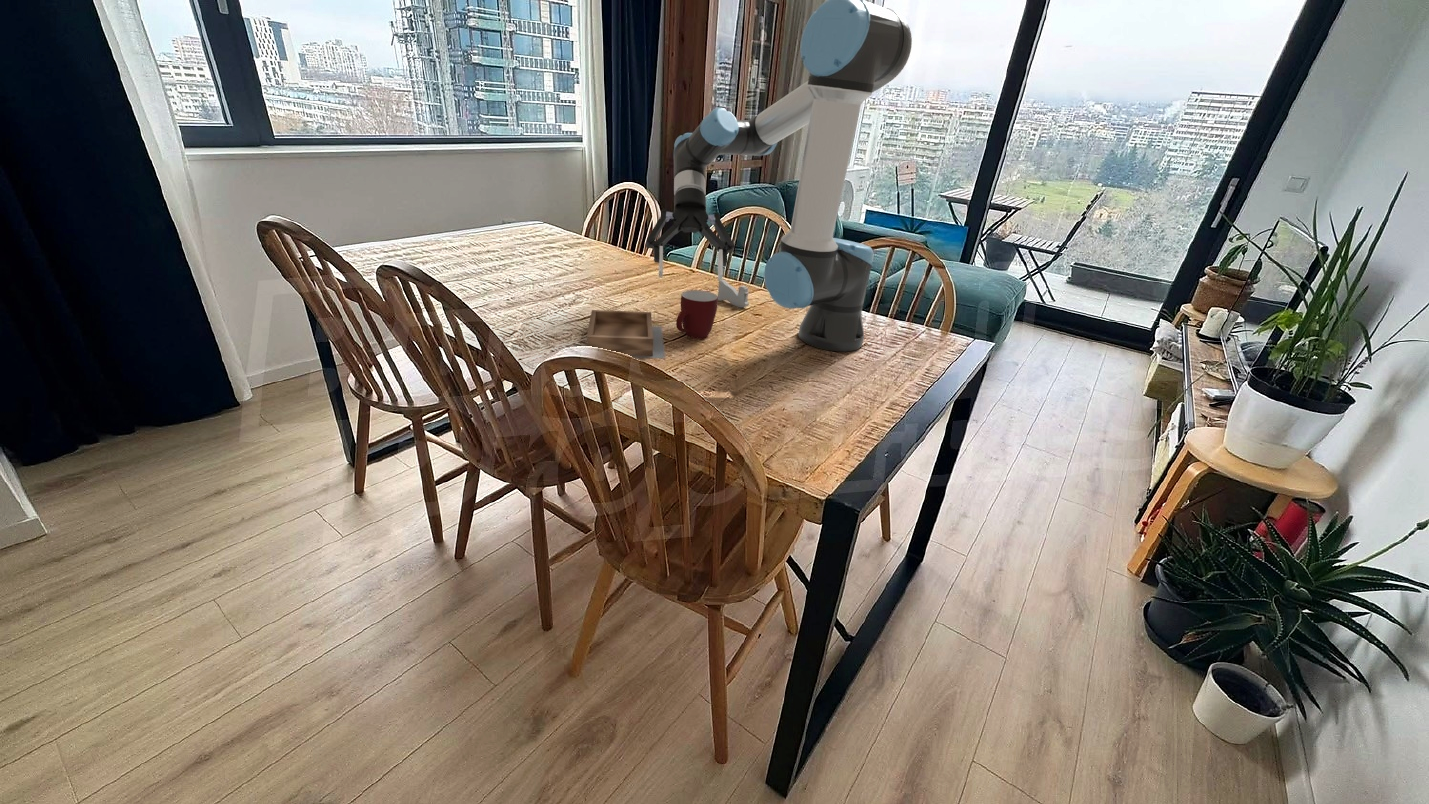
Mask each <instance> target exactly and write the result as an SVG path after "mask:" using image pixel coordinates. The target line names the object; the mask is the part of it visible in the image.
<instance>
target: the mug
mask: <svg viewBox="0 0 1429 804" xmlns="http://www.w3.org/2000/svg"><path fill="white" fill-rule="evenodd" d="M718 301H719V300H718V294H715V293H714V292H711V291H707V290H698V289H694V290H686V291H683V292H682V293H681V295H680V312H679V313H678V314H677V317H676V321H675V322H676V323H675V325H676V329H677V330H678V331H679V332H681V333H684V334H685V335H686V336H687V337H689V338H692V339H697V340H698V339H705V338H707V337H708V336H709V334H710V333H711V331H712V329H713V326H714V325H713V324H714V321H715V318H716V314H717V310H718Z"/></svg>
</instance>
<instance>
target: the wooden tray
mask: <svg viewBox="0 0 1429 804" xmlns="http://www.w3.org/2000/svg"><path fill="white" fill-rule="evenodd" d="M590 313H591V314H590V319H589V324H588V328H587V333H586V344H587V346H592V347H598V348H603V349H607V350H611V351H616V352H621V353H624V354H628V355H635V356H653V329H652V326H653V322H652V321H653V319H652V312H651V311H629V310H628V311H626V310H625V311H623V310H602V309H600V310H599V309H592V310H591V312H590Z"/></svg>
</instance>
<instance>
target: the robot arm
mask: <svg viewBox="0 0 1429 804" xmlns="http://www.w3.org/2000/svg"><path fill="white" fill-rule="evenodd" d="M912 38H913V37H912V31H911V27H910V26H909V23H908V22H907V20H906V19H905V17H904V16H903V15H902V14H900V13H899V12H898V11H896V10H894V9H891V8H888V7H887V8H886V7H883V6H880V5H878V4H874V3H872V2H869V1H866V0H825V1H824V2H822V3H821V4H820V5H819V7H818V8H817V9H816V10H815V11H813V12H812V14H811V16H810V17H809V18H808V20H807V22H806V24H805V27H804V29H803V32H802V34H801V40H800V49H799V50H800V57H801V60H802V61H803V62H802V64H803V66H804V68H805V69H806V71H807V72H808V73H809V75H808V80H807V81H805V82H804V83H802V84H801V85H800V86H798V87H796V88H795V89H794V90H792V91H791V92H789V93H788V94H786V95H785V96H783V97H782V98H780V99H779V100H778V101H776V102H774V103H773V104H772V105H770V106H768V107H766V108H765V109H764V110H763V111H760V112H759V113H758V114H757V115H755V116H753V117H751V118H750V119H747V120H746V119H737V118H736V116H735V115H734V114H733V113H732V112H731V111H730V110H726V108H724V107H715V108H713V109H712V110H711V112H709V113H708V114H707V115H706V116H705V117H703V119H702V120H701V122H700V123H699V124H698V126H697V127H696V128H695V130H694V131H692V132H686V133H684V134H682V135H679V136H678V137H677V138H676V139H675V142H674V145H673V147H674V149H673V154H672V155H673V179H674V180H673V195H674V196H673V211H672V212H671V211H667V209H666V208H662V209H661V210H660V211H661V212H660V217H659V218H658V220H657V222H655V224H654V227H653V228H652V230H651V232H650V233H649V234H648V236H647V238H646V239H645V240H646V241H645V246H646V248H647V249H652V250H653V261H654V263H655V264H656V263H657V264H658V278H659V279H660V278H662V279H663V273H664V246H666V244H667V243H668V242H670V240H671V239H672V238H673V237H674V236H675V235H678V234H679V233H680V232H681V231H682V232H683V233H693V234H697V233H699V234H700V235H701V236H702V237H704V238H705V239H706V240H707V241H708V242H709V243H710V244H711V245H712V246H713V248H714V249H715V250H716V251H717V256H716V257H717V281H718V282H719V281H721V280H723V277H724V267H726V266H727V263H728V254H733V252H734V249H735V247H736V245H735V243H734V241H733V240H732V237H730V235H729V233H728V231H727V229H726V228H725V226H724V224H723V223H722V221H721V214H720V213H719V212H714V214H708V213H707V199H706V198H707V196H706V195H707V194H706V193H707V192H706V190H707V189H706V169H707V167H708V166H709V165H710V164H711V163H712V162H713V161H714V160H716V158H717V157H718V156H719V155H733V156H754V157H762V156H767V155H770V154H771V153H772V152H774V150H775V148H776V147H777V145H778V142H780V141H782V140H783V139H785V138H787V137H789V136H790V135H792V134H793V133H796V132H797V131H799V130H800V129H802V128H804V127H806V126H808V129H807V133H806V140H805V145H804V151H803V157H802V162H801V163H802V164H801V168H800V174H799V179H798V185H797V191H796V196H795V197H796V198H795V203H794V208H793V213H792V220H791V225H790V229H789V231H788V232H786V233H785V234H784V235H782V236H781V239H780V245H779V251H778V252H775V253H773V254H772V255H771V257H769V258H768V259H767V261H766V263H765V265H764V266H765V267H764V271H763V273H764V274H763V275H764V276H763V277H764V278H763V279H764V284H765V287H766V290H767V292H768V293H769V295H770V297H771V299H772V300H773V301H774V302H775V303H776V304H777V305H779V306H780V307H782V308H784V309H785V308H786V309H789V310H790V309H791V310H792V309H793V310H794V309H805V308H808V310H807V311H806V313H805V316H804V317H803V319H802V321H801V323H800V325H799V329H798V334H797V335H798V338H799V339H800V340H801V341H802V342H804V343H805V344H807V345H809V346H812V347H814V348H817V349H821V350H826V351H831V352H852V351H856V350H859V349H861V348H862V347H863V343H864V337H865V333H864V323H863V316H862V315H863V314H862V312H863V307H864V302H865V297H866V293H867V288H868V283H869V278H870V274H871V270H872V267H873V260H874V251H873V248H872V247H871V246H869V245H866V244H863V243H860V242H855V241H852V240H847V239H843V238H842V239H841V238H837V237H834V232H835V227H836V223H837V218H838V212H839V210H840V209H839V208H840V204H841V199H842V193H843V189H844V186H845V180H846V175H847V171H848V166H849V163H850V157H851V152H852V147H853V142H854V139H855V134H856V128H857V125H858V120H859V114H860V110H861V105H862V104H863V102H864V101H866V100H867V99H868V98H870V97H871V96H872V95H873V93H874V92H876V91H878V90H879V89H881V88H883V87H884V86H885V85H887V84H889V83H891V82H892V81H893V80H894V79H895V78H897V77H898V76H899V75H900V73H901V72H902V70H904V68H905V66H906V64H907V63H908V60H909V58H910V56H911V55H910V54H911V51H912V44H913V43H912V42H913V40H912ZM670 219H671V220H672V221H673V223H672V225H671V226H670V227H669V228H668V229H666V231H664V233H662V234H661V236H659V235H660V233H661V232H662V230H663V228H664V226H665V225H666V223H668V222H669V221H670ZM708 222H710V224H711V226H713V227H714V230H715V232H716V233H717V234H716V233H715V232H714V231H713V230H712V229H711V228H710V225H709V224H708ZM658 236H659V237H658ZM860 347H861V348H860Z"/></svg>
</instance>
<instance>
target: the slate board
mask: <svg viewBox="0 0 1429 804" xmlns="http://www.w3.org/2000/svg"><path fill="white" fill-rule="evenodd" d="M652 329H653V356H635V355H630V356H632V357H634V358H633V359H635V358H636V359H663V360H664V359H666V353H665V345H664V338H663V330H662V326H654V325H652ZM586 346H587V343H586V345H585V347H586Z"/></svg>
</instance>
